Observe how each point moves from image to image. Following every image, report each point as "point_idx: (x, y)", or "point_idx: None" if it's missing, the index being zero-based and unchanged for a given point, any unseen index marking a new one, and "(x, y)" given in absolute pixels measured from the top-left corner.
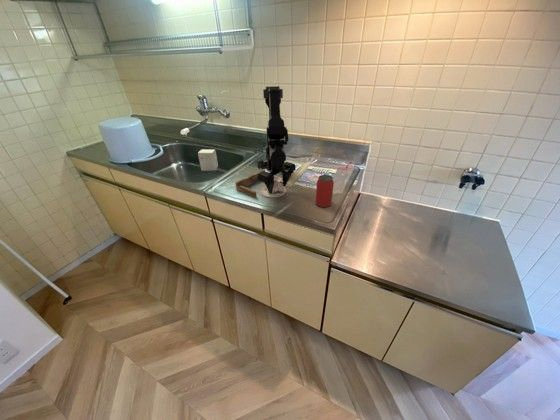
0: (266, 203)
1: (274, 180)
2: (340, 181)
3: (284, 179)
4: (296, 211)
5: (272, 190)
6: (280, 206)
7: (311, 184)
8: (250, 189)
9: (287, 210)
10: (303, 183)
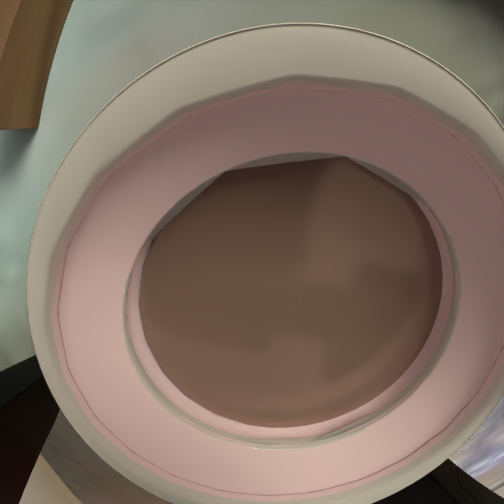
0: (10, 316)
1: (449, 298)
2: (491, 481)
3: (400, 501)
4: (99, 491)
5: (46, 430)
6: (64, 425)
7: (480, 439)
8: (16, 4)
9: (68, 460)
10: (499, 401)
